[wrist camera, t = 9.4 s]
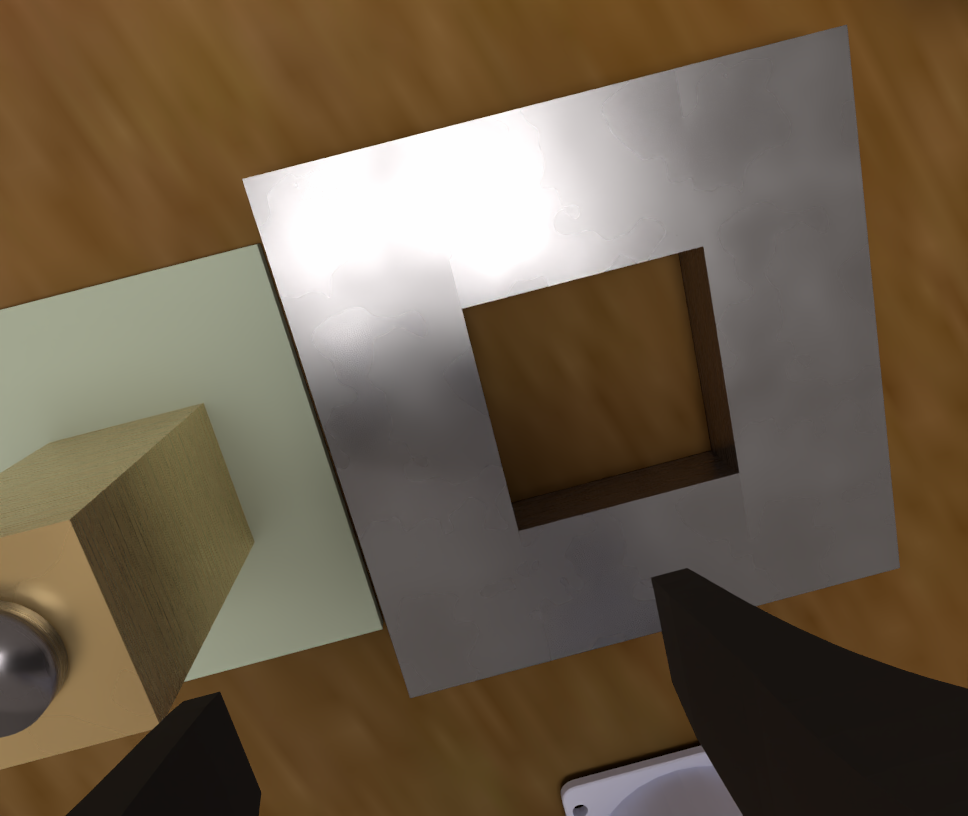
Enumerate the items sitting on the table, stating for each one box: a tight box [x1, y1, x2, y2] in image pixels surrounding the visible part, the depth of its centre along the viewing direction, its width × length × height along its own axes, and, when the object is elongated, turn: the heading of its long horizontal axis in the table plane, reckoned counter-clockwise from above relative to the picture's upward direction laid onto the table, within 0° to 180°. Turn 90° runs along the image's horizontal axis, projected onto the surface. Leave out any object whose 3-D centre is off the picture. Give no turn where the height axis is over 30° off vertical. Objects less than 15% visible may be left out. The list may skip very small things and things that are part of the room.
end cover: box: [0, 403, 255, 769], centre depth 17 cm, size 4×4×9 cm
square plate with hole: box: [242, 25, 900, 698], centre depth 20 cm, size 15×15×2 cm
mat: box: [0, 244, 383, 682], centre depth 21 cm, size 12×10×1 cm
